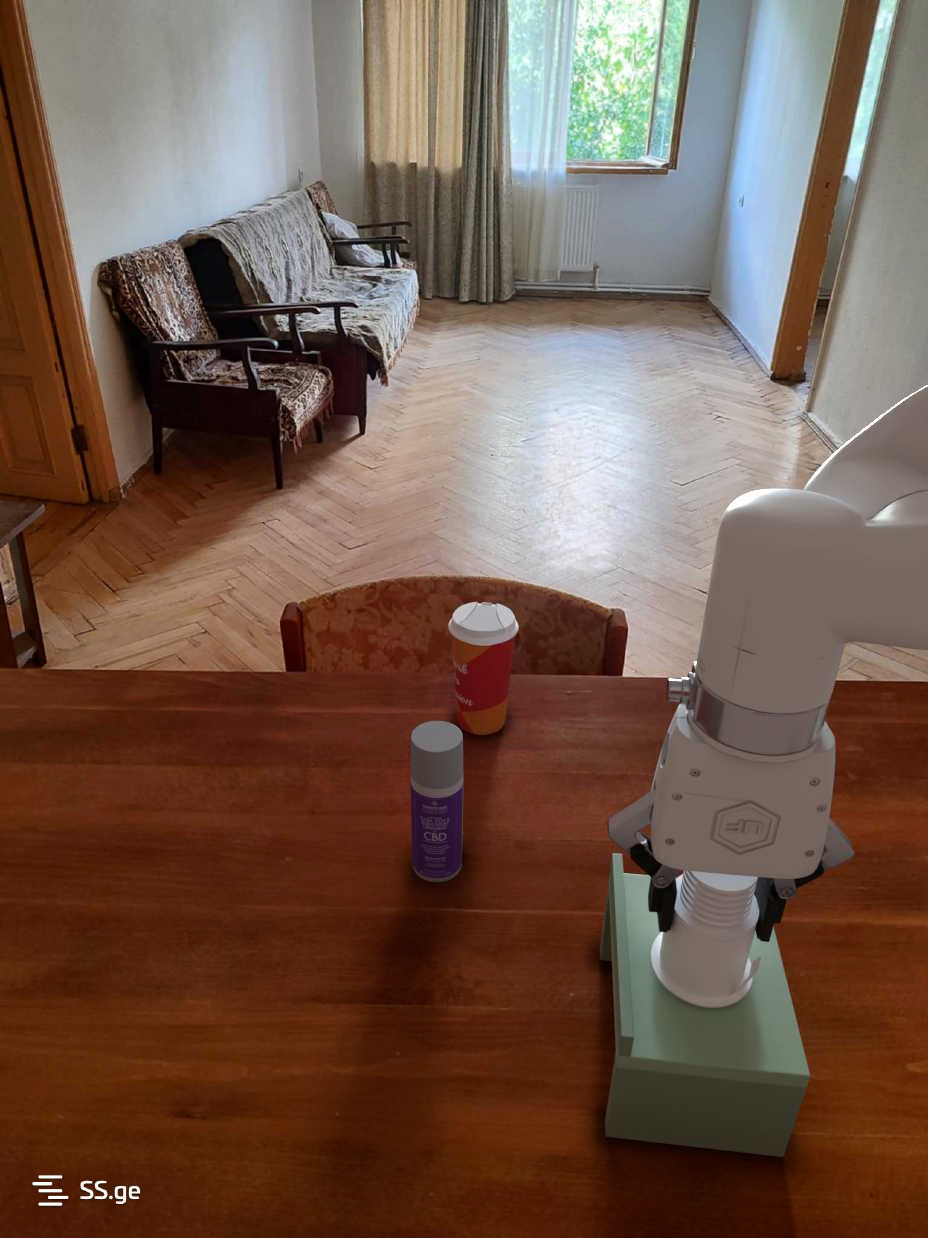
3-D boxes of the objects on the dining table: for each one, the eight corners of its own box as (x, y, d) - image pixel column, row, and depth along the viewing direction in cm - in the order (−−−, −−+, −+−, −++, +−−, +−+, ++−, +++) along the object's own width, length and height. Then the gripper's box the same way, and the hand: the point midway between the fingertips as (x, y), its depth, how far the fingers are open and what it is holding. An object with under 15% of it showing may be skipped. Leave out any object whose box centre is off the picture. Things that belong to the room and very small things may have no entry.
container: (423, 888, 80) (421, 758, 73) (405, 854, 84) (401, 727, 77) (470, 873, 82) (472, 745, 75) (450, 840, 86) (451, 714, 78)
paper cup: (453, 698, 107) (453, 596, 100) (516, 704, 106) (521, 601, 99) (443, 738, 100) (442, 631, 93) (510, 744, 99) (515, 637, 92)
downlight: (778, 983, 61) (808, 880, 56) (709, 1034, 58) (733, 929, 53) (692, 909, 67) (712, 809, 62) (624, 951, 64) (639, 849, 59)
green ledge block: (744, 962, 74) (768, 866, 68) (783, 1157, 60) (817, 1057, 54) (599, 948, 75) (612, 853, 69) (605, 1137, 61) (621, 1036, 56)
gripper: (609, 731, 49) (583, 953, 58) (934, 755, 47) (856, 979, 56) (605, 658, 55) (582, 869, 64) (891, 677, 54) (827, 890, 63)
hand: (710, 918), depth 60 cm, fingers closed on downlight, 5 cm apart
